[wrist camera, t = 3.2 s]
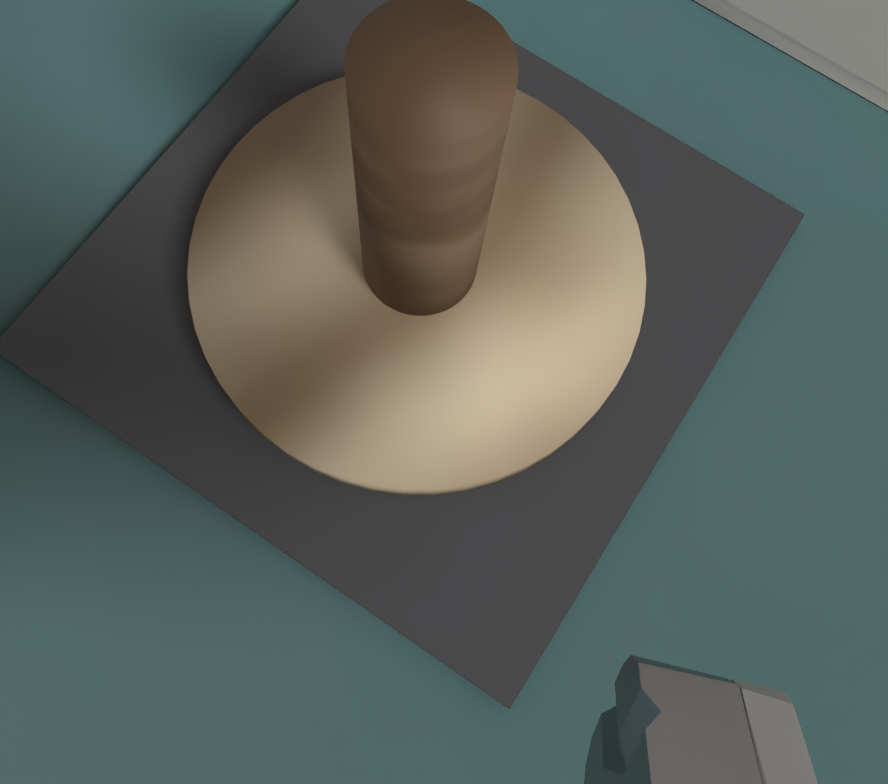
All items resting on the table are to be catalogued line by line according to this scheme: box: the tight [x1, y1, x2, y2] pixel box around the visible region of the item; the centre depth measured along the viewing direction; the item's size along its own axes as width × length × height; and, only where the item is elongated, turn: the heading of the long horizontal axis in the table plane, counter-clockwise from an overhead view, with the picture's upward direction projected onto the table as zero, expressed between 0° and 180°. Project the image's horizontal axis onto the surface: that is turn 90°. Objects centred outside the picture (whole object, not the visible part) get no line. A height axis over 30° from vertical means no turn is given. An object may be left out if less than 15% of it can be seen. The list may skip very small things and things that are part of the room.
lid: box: [187, 0, 646, 496], centre depth 19 cm, size 12×12×9 cm
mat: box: [0, 0, 805, 709], centre depth 23 cm, size 16×16×1 cm
